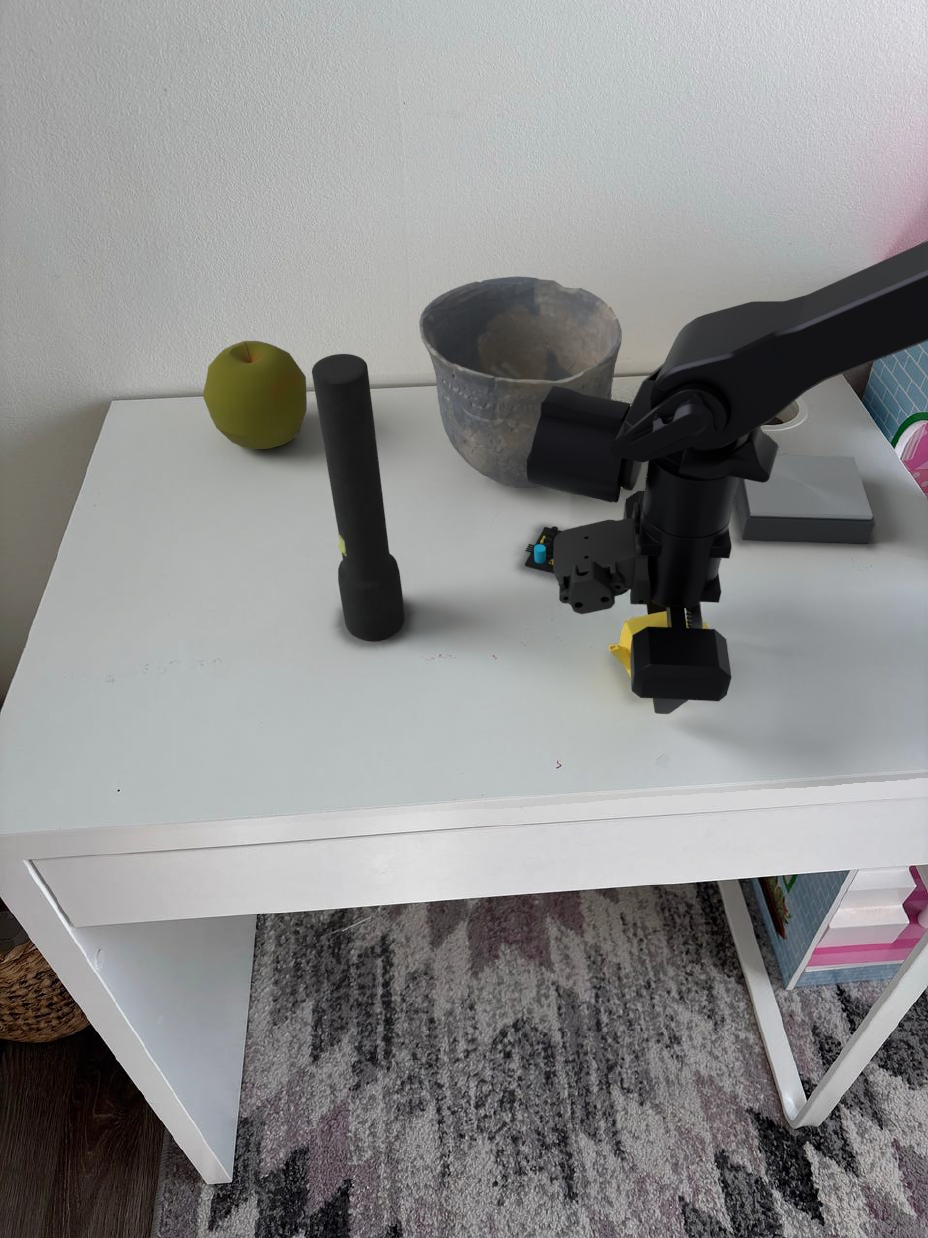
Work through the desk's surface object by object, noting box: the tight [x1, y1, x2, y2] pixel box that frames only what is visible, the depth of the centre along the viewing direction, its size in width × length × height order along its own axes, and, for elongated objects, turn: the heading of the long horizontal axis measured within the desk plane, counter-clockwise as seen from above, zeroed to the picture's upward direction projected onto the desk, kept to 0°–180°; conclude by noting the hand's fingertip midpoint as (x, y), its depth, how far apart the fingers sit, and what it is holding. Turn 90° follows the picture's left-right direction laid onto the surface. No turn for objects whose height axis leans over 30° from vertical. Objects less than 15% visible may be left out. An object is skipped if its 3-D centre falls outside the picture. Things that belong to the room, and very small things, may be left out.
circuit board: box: [524, 525, 580, 574], centre depth 85 cm, size 5×2×5 cm
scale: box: [734, 454, 876, 544], centre depth 88 cm, size 11×9×3 cm
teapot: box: [607, 611, 710, 679], centre depth 74 cm, size 8×6×5 cm
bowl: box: [418, 275, 623, 489], centre depth 89 cm, size 18×18×15 cm
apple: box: [202, 340, 308, 450], centre depth 95 cm, size 10×10×11 cm
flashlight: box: [311, 353, 406, 642], centre depth 72 cm, size 5×24×5 cm
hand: (658, 665), depth 74 cm, fingers open, 9 cm apart
